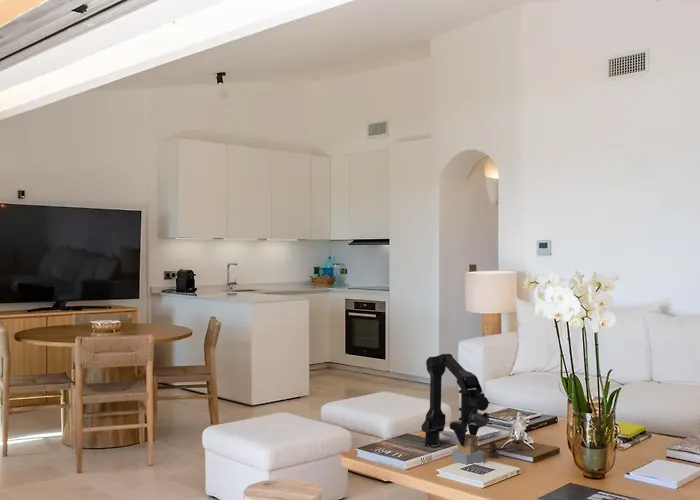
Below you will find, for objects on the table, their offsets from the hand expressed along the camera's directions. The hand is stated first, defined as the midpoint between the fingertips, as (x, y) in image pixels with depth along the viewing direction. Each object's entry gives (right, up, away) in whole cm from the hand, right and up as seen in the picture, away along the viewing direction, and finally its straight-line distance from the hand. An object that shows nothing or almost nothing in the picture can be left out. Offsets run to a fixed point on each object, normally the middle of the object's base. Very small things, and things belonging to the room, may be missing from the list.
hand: (467, 443), depth 291 cm
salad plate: (+8, -8, +42) cm, 44 cm away
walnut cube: (0, -3, 0) cm, 3 cm away
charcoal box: (0, -8, 0) cm, 8 cm away
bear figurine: (+13, -8, +13) cm, 21 cm away
